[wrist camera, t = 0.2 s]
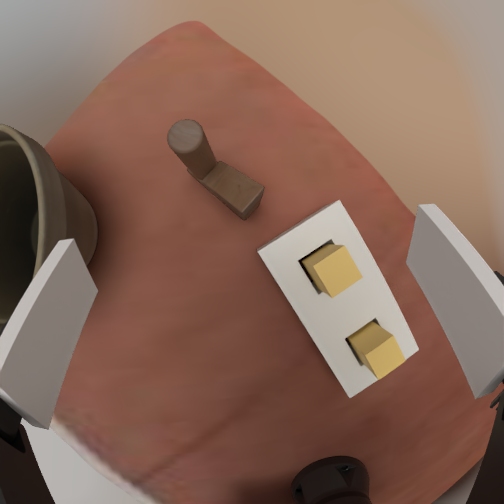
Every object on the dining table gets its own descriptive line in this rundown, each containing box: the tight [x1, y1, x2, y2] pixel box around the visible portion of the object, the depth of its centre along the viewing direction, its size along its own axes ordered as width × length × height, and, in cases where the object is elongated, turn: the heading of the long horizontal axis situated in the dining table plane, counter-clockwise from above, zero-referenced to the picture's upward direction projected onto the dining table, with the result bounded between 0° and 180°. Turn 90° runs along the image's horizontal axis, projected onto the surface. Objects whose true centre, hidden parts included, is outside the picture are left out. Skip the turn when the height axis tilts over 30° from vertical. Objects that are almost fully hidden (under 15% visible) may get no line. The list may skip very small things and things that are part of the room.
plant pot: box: [0, 124, 98, 330], centre depth 35 cm, size 25×25×22 cm
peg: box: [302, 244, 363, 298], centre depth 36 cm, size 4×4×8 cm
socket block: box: [256, 200, 419, 398], centre depth 43 cm, size 24×12×8 cm, turn 32°
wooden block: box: [167, 119, 265, 220], centre depth 37 cm, size 4×11×18 cm, turn 49°
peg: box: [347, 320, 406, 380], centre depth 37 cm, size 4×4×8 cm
